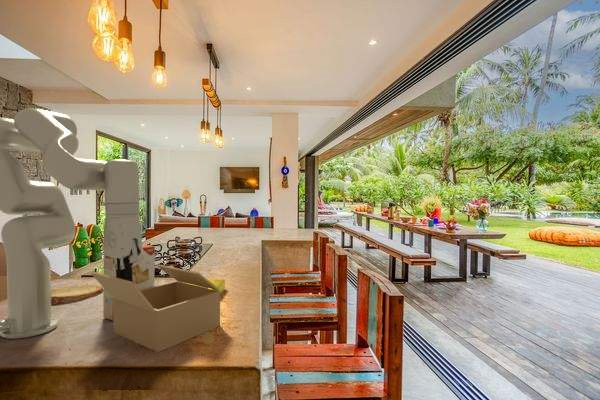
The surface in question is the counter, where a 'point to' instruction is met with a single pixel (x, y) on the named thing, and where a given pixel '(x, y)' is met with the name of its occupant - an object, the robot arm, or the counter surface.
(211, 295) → the carton
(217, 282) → the element tile
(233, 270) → the counter surface
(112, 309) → the cracker box
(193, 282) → the flap far
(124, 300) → the flap arm side
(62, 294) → the slice of bread
